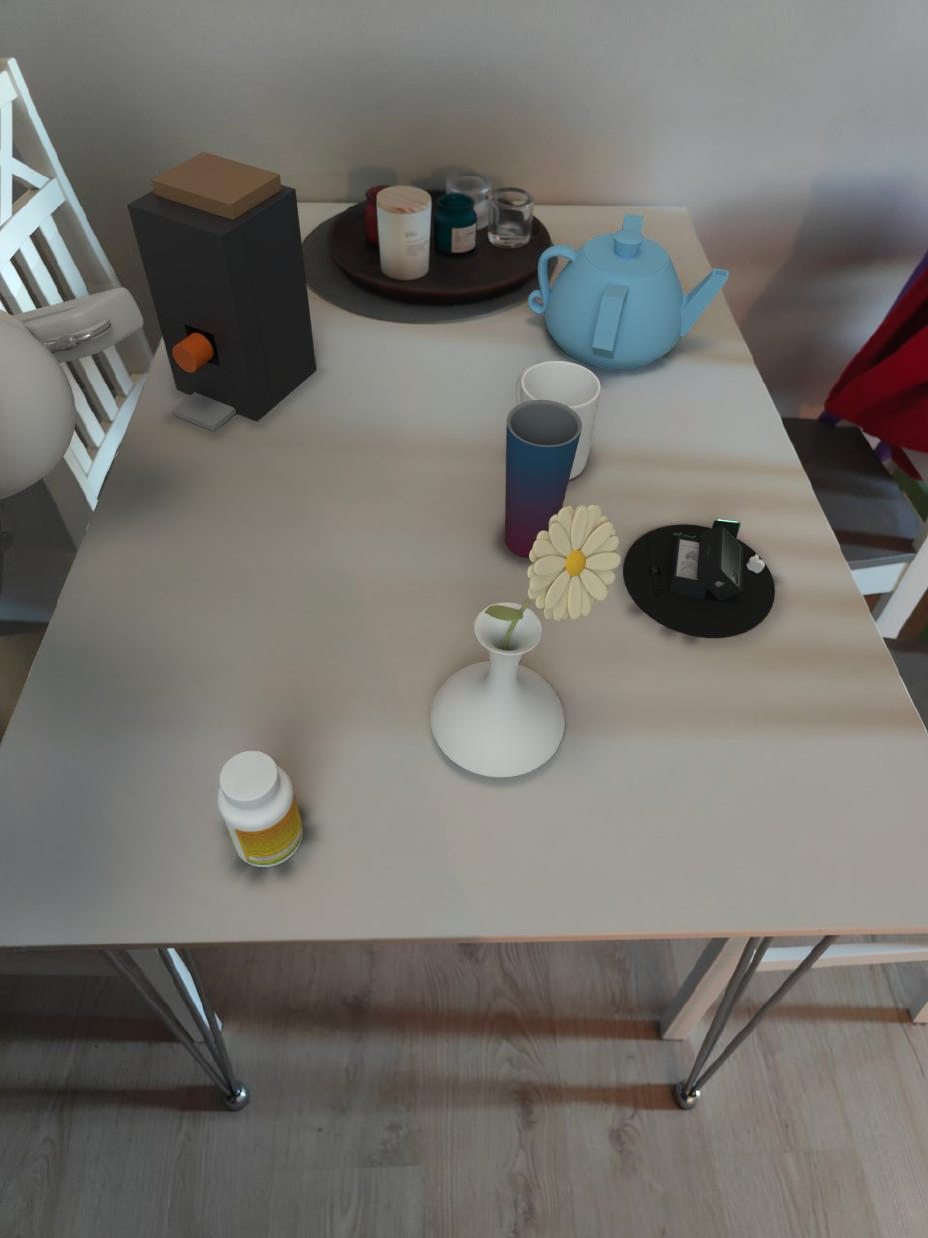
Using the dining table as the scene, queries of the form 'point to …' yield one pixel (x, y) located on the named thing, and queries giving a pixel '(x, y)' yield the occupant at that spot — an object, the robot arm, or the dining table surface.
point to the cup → (537, 468)
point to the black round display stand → (699, 579)
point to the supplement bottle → (259, 809)
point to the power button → (192, 352)
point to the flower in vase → (501, 688)
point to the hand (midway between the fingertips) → (82, 308)
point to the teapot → (619, 299)
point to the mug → (564, 397)
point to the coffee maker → (227, 284)
